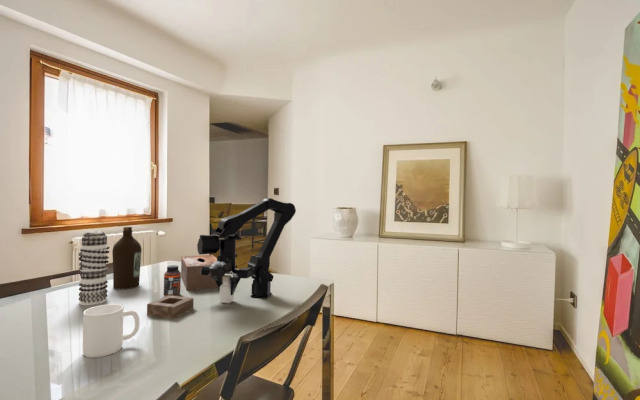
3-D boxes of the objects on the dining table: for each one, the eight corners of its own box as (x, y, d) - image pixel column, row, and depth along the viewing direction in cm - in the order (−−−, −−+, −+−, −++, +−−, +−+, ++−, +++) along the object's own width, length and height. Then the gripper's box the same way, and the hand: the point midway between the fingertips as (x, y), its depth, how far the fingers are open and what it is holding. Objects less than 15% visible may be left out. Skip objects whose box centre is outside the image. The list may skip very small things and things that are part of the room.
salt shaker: (234, 300, 123) (234, 275, 123) (228, 304, 119) (228, 277, 119) (224, 299, 124) (225, 274, 124) (218, 302, 120) (219, 276, 120)
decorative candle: (111, 301, 119) (113, 232, 119) (80, 307, 112) (82, 233, 112) (104, 296, 125) (106, 230, 125) (74, 301, 119) (76, 231, 119)
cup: (83, 347, 83) (83, 307, 83) (137, 337, 90) (138, 300, 90) (81, 361, 76) (82, 317, 76) (140, 349, 83) (141, 308, 83)
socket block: (193, 309, 114) (193, 297, 114) (173, 319, 104) (174, 307, 104) (168, 306, 116) (168, 295, 116) (146, 316, 106) (147, 303, 106)
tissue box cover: (180, 277, 158) (181, 256, 158) (212, 274, 165) (212, 254, 165) (186, 291, 136) (187, 266, 135) (222, 287, 142) (223, 264, 142)
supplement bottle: (173, 298, 125) (174, 268, 125) (160, 296, 126) (160, 267, 126) (183, 293, 131) (184, 265, 131) (170, 292, 132) (170, 264, 132)
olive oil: (107, 290, 133) (108, 228, 133) (117, 283, 144) (118, 226, 143) (136, 289, 135) (137, 228, 135) (144, 282, 146) (145, 226, 146)
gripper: (191, 254, 116) (191, 298, 116) (240, 257, 112) (239, 303, 112) (209, 249, 127) (208, 290, 127) (254, 252, 123) (253, 294, 123)
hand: (226, 294), depth 122 cm, fingers closed on salt shaker, 4 cm apart
